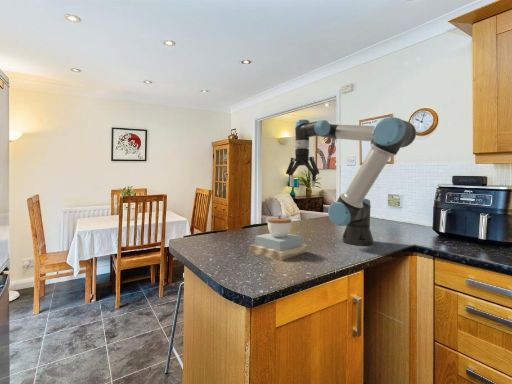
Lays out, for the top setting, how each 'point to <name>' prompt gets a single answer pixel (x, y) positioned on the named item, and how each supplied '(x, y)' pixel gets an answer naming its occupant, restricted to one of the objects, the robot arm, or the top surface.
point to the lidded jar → (279, 226)
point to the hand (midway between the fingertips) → (301, 186)
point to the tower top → (278, 241)
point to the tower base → (277, 252)
